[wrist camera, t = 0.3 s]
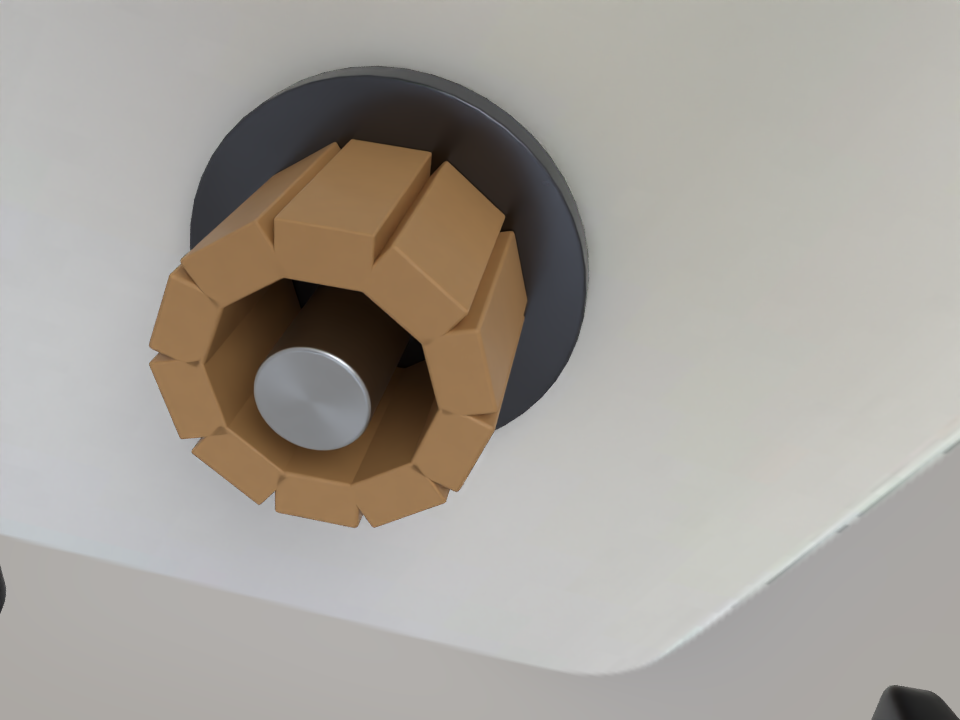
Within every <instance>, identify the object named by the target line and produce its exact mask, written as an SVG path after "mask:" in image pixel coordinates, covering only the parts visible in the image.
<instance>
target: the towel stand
mask: <svg viewBox="0 0 960 720" xmlns="http://www.w3.org/2000/svg"><path fill="white" fill-rule="evenodd" d="M351 139H355V140H361V141H367V142H373V143H379V144H385V145H391V146H397V147H403V148H409V149H415V150H421V151H427V152H431V154H432V158H431V169H430V176H431V175H432V174H433V173H434V172H435V171H436V170H437V169H438V168H439V167H440V166H441V165H442V163H443V162H445V161H447V162H449V163H450V164H451V165H452V166H453V167H454V168H455V169H456V170H457V171H458V172H460V173H461V174H462V175H463V176H464V177H465V178H466V179H467V180H468V181H469V182H470V183H471V184H472V185H473V186H474V187H475V188H476V189H477V190H479V191H480V192H481V193H482V194H483V195H484V196H485V197H486V198H487V199H488V200H489V201H490V202H491V203H492V204H493V205H494V206H495V207H496V208H497V209H499V210H500V211H501V212H502V213H503V214H504V215H505V219H504V222H503V225H502V227H501V230H500V232H506V231H513V232H514V234H515V239H516V244H517V249H518V254H519V259H520V265H521V270H522V275H523V280H524V286H525V291H526V296H527V304H526V307H525V311H524V315H523V316H524V317H525V318H524V323H523V327H522V330H521V334H520V338H519V342H518V345H517V349H516V353H515V357H514V360H513V364H512V368H511V372H510V375H509V379H508V383H507V387H506V390H505V394H504V398H503V401H502V405H501V409H500V413H499V416H498V420H497V424H496V428H495V430H496V429H498V428H500V427H502V426H504V425H506V424H508V423H509V422H511V421H512V420H514V419H515V418H517V417H518V416H520V415H521V414H523V413H524V412H526V411H527V410H528V409H529V408H530V407H531V406H532V405H534V404H535V403H536V402H537V401H538V400H539V399H540V398H541V397H542V396H543V395H544V394H545V393H546V392H547V390H548V389H549V388H550V387H551V386H552V385H553V383H554V382H555V381H556V380H557V378H558V377H559V375H560V373H561V372H562V370H563V369H564V367H565V366H566V364H567V362H568V361H569V358H570V356H571V354H572V351H573V349H574V347H575V345H576V342H577V340H578V336H579V333H580V329H581V325H582V322H583V318H584V312H585V305H586V298H587V289H588V281H589V264H588V249H587V243H586V237H585V231H584V227H583V224H582V220H581V217H580V214H579V211H578V208H577V205H576V202H575V200H574V198H573V196H572V194H571V192H570V189H569V187H568V185H567V183H566V181H565V179H564V177H563V176H562V174H561V173H560V171H559V170H558V168H557V166H556V165H555V163H554V162H553V160H552V159H551V157H550V156H549V155H548V153H547V152H546V151H545V150H544V149H543V147H542V146H541V145H540V144H539V143H538V142H537V140H536V139H535V138H534V137H533V136H532V134H530V133H529V132H528V131H527V130H526V129H525V128H524V127H523V126H522V125H521V124H519V123H518V122H517V121H516V120H515V119H514V118H513V117H512V116H511V115H509V114H508V113H507V112H505V111H504V110H502V109H501V108H499V107H498V106H497V105H495V104H494V103H492V102H491V101H489V100H488V99H487V98H485V97H483V96H481V95H479V94H477V93H475V92H473V91H471V90H470V89H468V88H466V87H464V86H462V85H460V84H457V83H454V82H452V81H449V80H446V79H443V78H441V77H438V76H435V75H432V74H428V73H423V72H419V71H414V70H410V69H405V68H394V67H383V66H369V67H350V68H345V69H340V70H334V71H329V72H324V73H321V74H318V75H316V76H313V77H310V78H307V79H304V80H301V81H299V82H297V83H295V84H293V85H291V86H289V87H288V88H286V89H284V90H282V91H280V92H278V93H276V94H275V95H274V96H272V97H271V98H269V99H268V100H266V101H265V102H264V103H262V104H261V105H260V106H258V107H257V108H256V109H254V110H253V111H252V112H250V113H249V114H248V115H246V116H245V117H244V118H242V120H241V121H240V122H239V123H238V124H237V125H236V126H235V127H234V128H233V129H232V130H231V131H230V132H229V133H228V134H227V135H226V136H225V138H224V139H223V141H222V142H221V143H220V145H219V146H218V148H217V149H216V151H215V152H214V153H213V155H212V157H211V159H210V161H209V163H208V165H207V167H206V169H205V171H204V173H203V175H202V177H201V180H200V183H199V186H198V190H197V193H196V196H195V199H194V205H193V211H192V218H191V227H190V251H191V250H192V249H193V248H194V247H195V246H196V245H197V244H198V243H199V242H201V241H202V240H203V239H204V238H205V237H206V236H207V235H208V234H209V233H210V232H212V231H213V230H214V229H215V228H216V227H217V226H218V225H219V224H220V223H222V222H223V221H224V220H225V219H226V218H227V217H228V216H229V215H230V214H231V213H233V212H234V211H235V210H236V209H237V208H238V207H239V206H240V205H241V204H242V203H244V202H245V201H246V200H247V199H248V198H249V197H250V196H251V195H252V194H253V193H255V192H256V191H257V190H258V189H259V188H260V187H261V186H262V185H263V184H265V183H266V182H267V181H268V180H269V179H270V178H271V177H272V176H273V175H275V174H277V173H279V172H281V171H283V170H284V169H286V168H288V167H290V166H292V165H293V164H295V163H297V162H299V161H301V160H302V159H304V158H306V157H308V156H310V155H312V154H313V153H315V152H317V151H319V150H321V149H322V148H324V147H326V146H328V145H330V144H331V143H333V142H336V143H337V144H338V146H339V147H340V149H342V148H343V147H344V146H345V145H346V144H347V143H348V142H349V141H350V140H351ZM292 282H293V285H294V288H295V292H296V295H297V298H298V301H299V304H300V307H301V311H300V312H299V313H298V315H297V316H296V317H295V319H294V320H293V322H292V323H291V324H290V326H289V327H288V328H287V330H286V331H285V332H284V334H283V335H282V336H281V338H280V339H279V341H278V342H277V343H276V345H275V346H274V347H273V349H272V350H271V351H270V353H269V354H268V355H267V357H266V358H265V360H264V361H263V362H262V364H261V365H260V367H259V368H258V370H257V373H256V375H255V380H254V397H255V401H256V405H257V407H258V410H259V412H260V414H261V416H262V417H263V419H264V420H265V422H266V423H267V424H268V425H269V426H270V427H271V428H272V429H273V430H274V431H275V432H276V433H277V434H278V435H280V436H281V437H282V438H284V439H286V440H287V441H289V442H291V443H293V444H295V445H298V446H300V447H303V448H307V449H312V450H324V451H325V450H334V449H339V448H342V447H345V446H347V445H349V444H351V443H353V442H354V441H355V440H357V439H358V438H359V437H360V436H361V435H362V434H363V433H364V431H365V430H366V429H367V427H368V425H369V423H370V420H371V418H372V416H373V414H374V412H375V410H376V408H377V406H378V404H379V402H380V400H381V398H382V396H383V393H384V391H385V389H386V387H387V385H388V383H389V381H390V379H391V377H392V375H393V373H394V371H395V369H396V367H399V368H407V367H410V366H412V365H414V364H417V363H419V362H421V361H424V360H426V359H425V355H424V351H423V348H422V344H421V343H420V342H419V341H418V340H417V339H415V338H414V337H413V336H412V335H411V334H410V333H409V332H407V331H406V330H405V329H404V328H403V327H402V326H401V325H399V324H398V323H397V322H396V321H395V320H394V319H393V318H391V317H390V316H389V315H388V314H387V313H386V312H385V311H383V310H382V309H381V308H380V307H379V306H378V305H377V304H375V303H374V302H373V301H372V300H371V299H370V298H369V297H367V296H366V295H365V294H364V293H363V292H360V291H354V290H349V289H343V288H338V287H332V286H327V285H321V284H315V283H310V282H304V281H299V280H293V279H292Z"/></svg>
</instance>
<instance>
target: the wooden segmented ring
mask: <svg viewBox="0 0 960 720" xmlns="http://www.w3.org/2000/svg"><path fill="white" fill-rule="evenodd" d="M431 158H432V154H431V152H427V151H421V150H415V149H409V148H403V147H397V146H391V145H385V144H379V143H373V142H367V141H361V140H355V139H351V140H350V141H349V142H348V143H347V144H346V145H345V146H344V147H343V148H342V149H340V147H339V146H338V144H337V143H336V142H333V143H331V144H330V145H328V146H326V147H324V148H322V149H321V150H319V151H317V152H315V153H313V154H312V155H310V156H308V157H306V158H304V159H302V160H301V161H299V162H297V163H295V164H293V165H292V166H290V167H288V168H286V169H284V170H283V171H281V172H279V173H277V174H275V175H273V176H272V177H271V178H270V179H269V180H268V181H267V182H266V183H265V184H263V185H262V186H261V187H260V188H259V189H258V190H257V191H256V192H255V193H253V194H252V195H251V196H250V197H249V198H248V199H247V200H246V201H245V202H244V203H242V204H241V205H240V206H239V207H238V208H237V209H236V210H235V211H234V212H233V213H231V214H230V215H229V216H228V217H227V218H226V219H225V220H224V221H223V222H222V223H220V224H219V225H218V226H217V227H216V228H215V229H214V230H213V231H212V232H210V233H209V234H208V235H207V236H206V237H205V238H204V239H203V240H202V241H201V242H199V243H198V244H197V245H196V246H195V247H194V248H193V249H192V250H191V251H190V252H188V253H187V254H186V255H185V256H184V257H183V258H182V259H181V260H180V262H181V265H180V266H178V267H177V268H176V269H175V270H174V271H173V272H172V273H171V274H170V275H169V278H168V281H167V285H166V288H165V292H164V295H163V298H162V302H161V305H160V309H159V312H158V315H157V319H156V322H155V326H154V329H153V332H152V336H151V339H150V343H149V347H150V348H151V349H153V350H155V351H157V352H159V353H158V354H157V355H156V356H155V357H154V358H153V360H152V361H151V362H150V363H149V366H150V368H151V370H152V373H153V375H154V377H155V380H156V382H157V385H158V387H159V389H160V392H161V394H162V396H163V399H164V401H165V404H166V406H167V408H168V411H169V413H170V415H171V418H172V420H173V423H174V425H175V427H176V430H177V432H178V434H179V437H180V438H181V439H188V438H201V439H200V440H199V441H198V443H197V444H196V445H195V447H194V448H193V449H192V454H194V455H195V456H196V457H198V458H199V459H200V460H201V461H203V462H204V463H205V464H207V465H208V466H209V467H210V468H212V469H213V470H214V471H216V472H217V473H218V474H219V475H221V476H222V477H223V478H225V479H226V480H227V481H228V482H230V483H231V484H232V485H234V486H235V487H236V488H237V489H239V490H240V491H241V492H243V493H244V494H245V495H246V496H248V497H249V498H250V499H252V500H253V501H254V502H255V503H257V504H258V505H260V504H261V503H263V502H264V501H265V500H266V499H267V498H268V497H269V496H270V495H271V494H272V493H274V492H275V510H276V512H278V513H283V514H288V515H293V516H298V517H303V518H308V519H313V520H318V521H323V522H328V523H333V524H338V525H343V526H348V527H352V528H356V527H358V525H359V523H360V520H361V518H362V516H363V515H364V516H365V517H366V519H367V520H368V522H369V523H370V524H371V526H372V527H373V528H375V527H378V526H381V525H383V524H386V523H389V522H392V521H395V520H398V519H401V518H403V517H406V516H409V515H412V514H415V513H418V512H420V511H423V510H426V509H429V508H432V507H435V506H438V505H440V504H443V503H445V502H446V500H447V497H448V494H449V490H450V489H451V490H453V491H455V492H457V491H459V490H460V489H461V487H462V485H463V484H464V482H465V480H466V479H467V477H468V475H469V473H470V472H471V470H472V468H473V467H474V465H475V463H476V462H477V460H478V458H479V456H480V455H481V453H482V451H483V450H484V448H485V446H486V444H487V443H488V441H489V439H490V438H491V436H492V434H493V433H494V431H495V428H496V424H497V420H498V416H499V413H500V409H501V405H502V401H503V398H504V394H505V390H506V387H507V383H508V379H509V375H510V372H511V368H512V364H513V360H514V357H515V353H516V349H517V345H518V342H519V338H520V334H521V330H522V327H523V323H524V318H525V317H524V316H523V315H524V311H525V307H526V304H527V296H526V291H525V286H524V280H523V275H522V270H521V265H520V259H519V254H518V249H517V244H516V239H515V234H514V232H513V231H506V232H500V230H501V227H502V225H503V222H504V219H505V215H504V214H503V213H502V212H501V211H500V210H499V209H497V208H496V207H495V206H494V205H493V204H492V203H491V202H490V201H489V200H488V199H487V198H486V197H485V196H484V195H483V194H482V193H481V192H480V191H479V190H477V189H476V188H475V187H474V186H473V185H472V184H471V183H470V182H469V181H468V180H467V179H466V178H465V177H464V176H463V175H462V174H461V173H460V172H458V171H457V170H456V169H455V168H454V167H453V166H452V165H451V164H450V163H449V162H447V161H445V162H443V163H442V165H441V166H440V167H439V168H438V169H437V170H436V171H435V172H434V173H433V174H432V175H431V176H430V169H431ZM292 279H293V280H299V281H304V282H310V283H315V284H321V285H327V286H332V287H338V288H343V289H349V290H354V291H360V292H363V293H364V294H365V295H366V296H367V297H369V298H370V299H371V300H372V301H373V302H374V303H375V304H377V305H378V306H379V307H380V308H381V309H382V310H383V311H385V312H386V313H387V314H388V315H389V316H390V317H391V318H393V319H394V320H395V321H396V322H397V323H398V324H399V325H401V326H402V327H403V328H404V329H405V330H406V331H407V332H409V333H410V334H411V335H412V336H413V337H414V338H415V339H417V340H418V341H419V342H420V343H421V344H422V348H423V351H424V355H425V359H426V360H424V361H421V362H419V363H417V364H414V365H412V366H410V367H407V368H399V367H396V369H395V371H394V373H393V375H392V377H391V379H390V381H389V383H388V385H387V387H386V389H385V391H384V393H383V396H382V398H381V400H380V402H379V404H378V406H377V408H376V410H375V412H374V414H373V416H372V418H371V420H370V423H369V425H368V427H367V429H366V430H365V431H364V433H363V434H362V435H361V436H360V437H359V438H358V439H357V440H355V441H354V442H353V443H351V444H349V445H347V446H345V447H342V448H339V449H334V450H325V451H324V450H312V449H307V448H303V447H300V446H298V445H295V444H293V443H291V442H289V441H287V440H286V439H284V438H282V437H281V436H280V435H278V434H277V433H276V432H275V431H274V430H273V429H272V428H271V427H270V426H269V425H268V424H267V423H266V422H265V420H264V419H263V417H262V416H261V414H260V412H259V410H258V407H257V405H256V401H255V397H254V380H255V375H256V373H257V370H258V368H259V367H260V365H261V364H262V362H263V361H264V360H265V358H266V357H267V355H268V354H269V353H270V351H271V350H272V349H273V347H274V346H275V345H276V343H277V342H278V341H279V339H280V338H281V336H282V335H283V334H284V332H285V331H286V330H287V328H288V327H289V326H290V324H291V323H292V322H293V320H294V319H295V317H296V316H297V315H298V313H299V312H300V311H301V307H300V304H299V301H298V298H297V295H296V292H295V288H294V285H293V282H292Z"/></svg>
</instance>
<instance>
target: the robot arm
mask: <svg viewBox="0 0 960 720" xmlns="http://www.w3.org/2000/svg"><path fill="white" fill-rule="evenodd" d="M5 597H6V586H5V582H4V578H3V574H2V571H1V567H0V613H1V610H2V608H3V605H4V602H5ZM872 720H960V719H959V718H958V717H957V716H956V715H955V714H954V712H953V711H952V710H951V709H950V708H949V707H948V705H947V704H946V703H945V702H944V701H943V700H942V699H941V698H940V697H939V696H938V695H936V694H935V693H933V692H931V691H927V690H921V689H916V688H909V687H904V686H898V685H893V686H889V687H888V688H887V689H886V690H885V691H884V692H883V694H882V696H881V698H880V701H879V703H878V705H877V708H876V710H875V712H874V715H873V717H872Z"/></svg>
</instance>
